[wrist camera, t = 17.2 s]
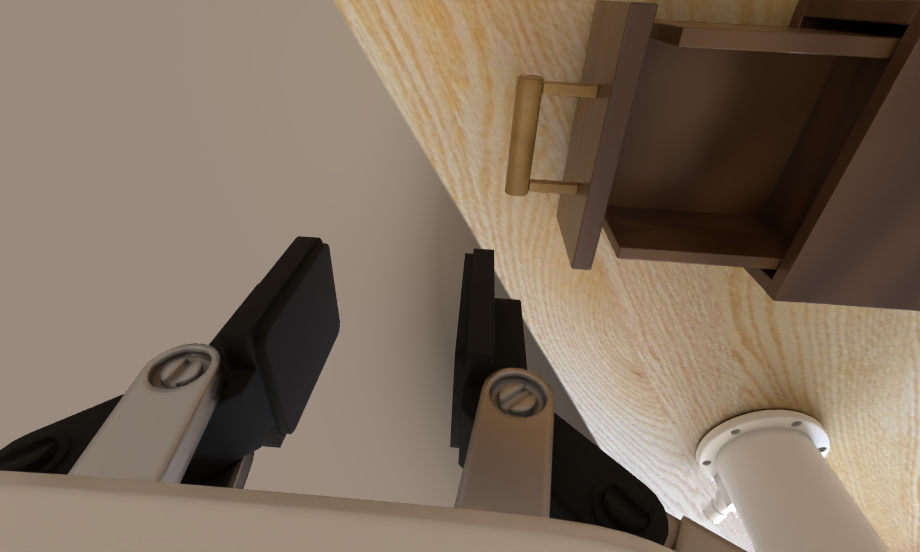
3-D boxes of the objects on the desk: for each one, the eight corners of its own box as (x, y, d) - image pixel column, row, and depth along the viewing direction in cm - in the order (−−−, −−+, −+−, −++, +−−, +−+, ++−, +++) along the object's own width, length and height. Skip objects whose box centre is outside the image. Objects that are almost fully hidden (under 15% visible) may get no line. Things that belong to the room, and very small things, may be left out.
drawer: (498, 212, 32) (499, 264, 26) (520, -4, 25) (530, -4, 19) (754, 229, 32) (818, 286, 25) (857, 13, 24) (982, 20, 18)
